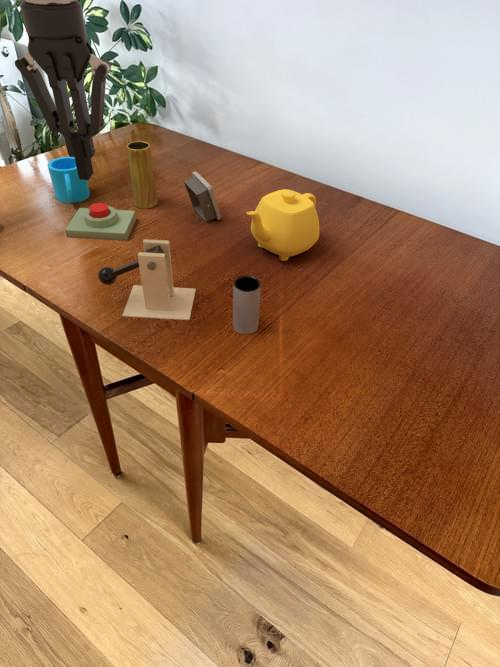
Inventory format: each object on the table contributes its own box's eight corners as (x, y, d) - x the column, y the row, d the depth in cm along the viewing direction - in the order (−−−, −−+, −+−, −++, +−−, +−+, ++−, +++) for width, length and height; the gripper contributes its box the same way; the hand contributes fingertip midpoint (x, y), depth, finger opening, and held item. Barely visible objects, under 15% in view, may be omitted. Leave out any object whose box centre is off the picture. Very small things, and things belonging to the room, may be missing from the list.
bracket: (122, 320, 83) (110, 260, 74) (134, 289, 89) (124, 231, 81) (189, 324, 83) (185, 265, 74) (196, 293, 89) (193, 235, 81)
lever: (103, 290, 82) (92, 277, 80) (108, 280, 84) (97, 266, 83) (165, 266, 78) (154, 251, 76) (168, 256, 80) (158, 241, 78)
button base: (67, 238, 102) (63, 222, 99) (81, 216, 109) (77, 200, 106) (126, 242, 102) (123, 226, 99) (136, 219, 109) (134, 203, 106)
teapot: (332, 246, 103) (342, 193, 95) (266, 279, 93) (270, 223, 85) (289, 221, 111) (294, 170, 102) (223, 249, 101) (223, 195, 92)
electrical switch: (222, 220, 110) (218, 184, 103) (202, 227, 108) (197, 190, 102) (206, 203, 116) (201, 168, 109) (187, 209, 114) (181, 174, 108)
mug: (55, 189, 118) (47, 158, 112) (89, 186, 120) (82, 155, 114) (56, 212, 110) (47, 179, 104) (92, 208, 112) (85, 176, 106)
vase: (131, 209, 112) (122, 150, 102) (135, 197, 117) (126, 139, 107) (156, 209, 113) (150, 150, 103) (159, 197, 117) (153, 140, 107)
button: (88, 218, 101) (86, 211, 100) (93, 209, 104) (92, 202, 103) (106, 219, 101) (105, 212, 100) (111, 210, 104) (110, 203, 103)
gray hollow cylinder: (232, 337, 81) (232, 291, 74) (233, 320, 84) (233, 274, 77) (258, 338, 81) (261, 292, 74) (257, 321, 84) (260, 275, 77)
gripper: (-15, 0, 56) (37, 183, 73) (91, 7, 56) (120, 189, 72) (12, -9, 62) (55, 163, 78) (108, -3, 62) (131, 169, 78)
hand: (86, 176), depth 75 cm, fingers closed
